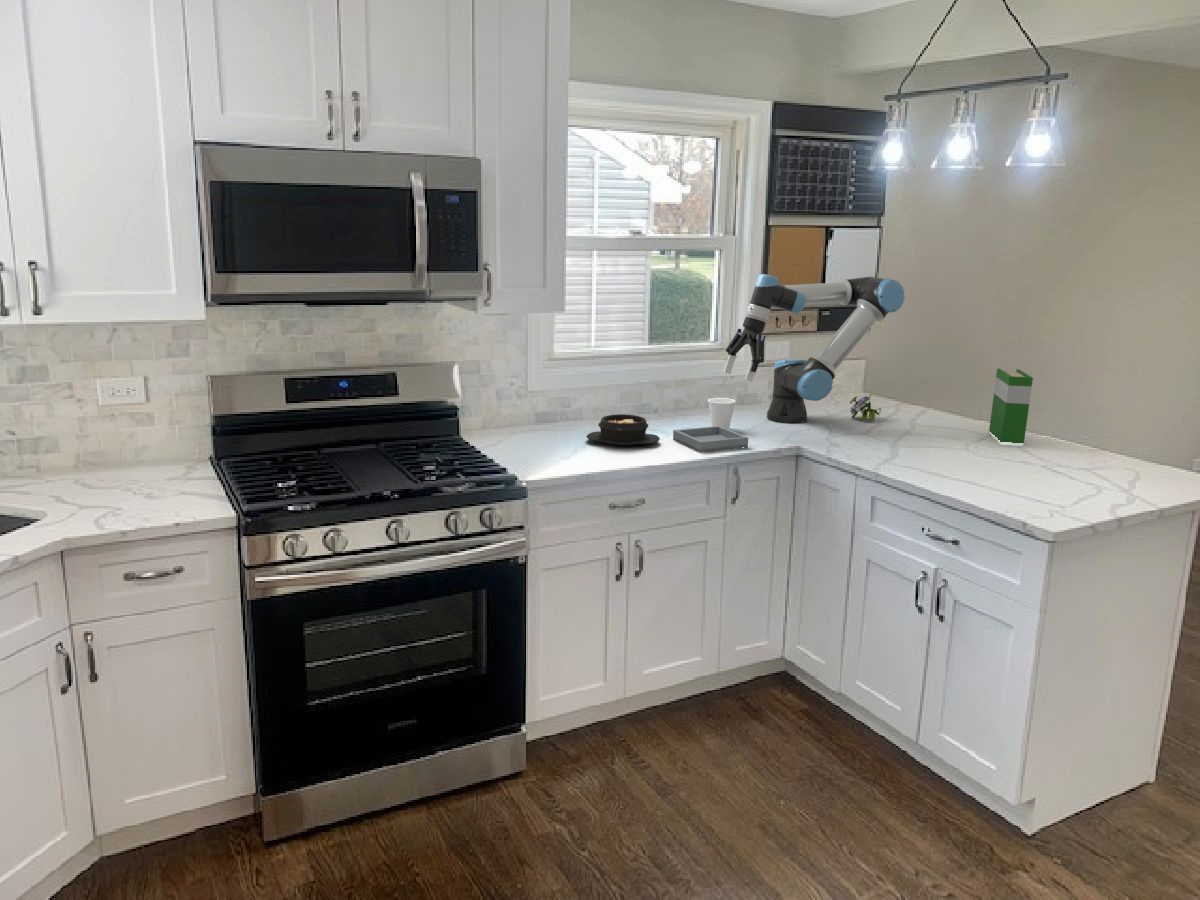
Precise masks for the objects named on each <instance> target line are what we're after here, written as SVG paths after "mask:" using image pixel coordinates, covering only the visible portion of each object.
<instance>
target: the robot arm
mask: <svg viewBox="0 0 1200 900" xmlns="http://www.w3.org/2000/svg"><path fill="white" fill-rule="evenodd" d="M752 291H753V292H752V296H751V298H750V302H749V305H748V308H747V311H746V315H747V316H745V317H744V321H743V322H742V326H743V328H744V329H741V328H738V329H737V331H736V333H735V334H734V337H732V339H731V341H730V342H729V344H728V346H727V347H726V348H725V352H727V359H726V362H725V366H724V368H723V373H725V374H729V375H731V373H732V370H733V367H734V365H735V361H736V358H737V354H738V352H740V351H741V349H742V348H744V346H745V345H749V347H750V354H751V358H752V360H751V361H750V362H749V365H748V369H747V372H746V375H745V378H744V380H746V381H748V382H753V380H754V377H755V375H756V373H757V370H758V367H759V365H760V364H761V363H762V364H763V363H764V362H765V341H766V337H767V336H766V335H765V334H762V333H763V332H764V331H765V327H766V323H767V322H765V321H768V318H769V315H770V312H771V309H772V308H773V309H778V310H782V311H783V310H784V311H787V312H789V313H793V314H798V313H801V311H803V309H804V308H805V305H807V306H808V305H823V304H824V305H827V304H840V305H842V306H855V307H856V308H855V309H854V310H853V312H851V314H850V315H849V316H848V317H847V318H846V320H845V321H844V322H843V323H842V325H841V326H840V327H839V328H838V329H837V330H836V332H835V333H834V334H833V336H832V337H831V338H830V339H829V340H828V341H827V343H826V344H825V345H824V347H822V348H821V350H819V352H818V353H817V355H815V356H810V357H809V358H808V359H807V360H806V359H798V358H797V359H795V358H793V359H787V358H786V359H777V360H776V361H775V363H774V366H773V367H774V368H773V384H772V385H773V386H772V388H773V389H772V390H773V391H772V399H771V402H770V404H769V407H768V410H767V412H766V419H767V418H768V420H769V419H770V420H769V421H772V420H773V421H772V422H776V421H778V422H777V423H783V422H800V423H803V422H802V421H805V420H807V421H808V412H807V407H806V404H805V401H804V400H806V401H813V402H815V401H821V400H823V399H824V398H825V399H826V397H828V395H829V394H830V392H831V391H832V389H833V384H834V379H835V377H836V370H837V369H838V368H839V367H840V365H841V364H842V363H843V362H844V360H846V358H847V357H848V356H849V354H850V353H851V352H852V351H853V350H854V349H855V347H856V346H857V345H858V343H860V341H861V340H862V339H863V338H864V337H865V335H866V334H867V333H868V332H869V330H870V329H871V328H872V327H873V326H874V324H875V323H876V322H881V321H883V320H884V319H885V318H886V317H887V315H888V314H889V313H894V312H898V311H899V309H901V308H902V306H903V304H904V302H905V289H904V287H903V285H902V284H901V283H900V282H899V281H898V280H896V279H893V278H889V277H887V278H882V277H876V276H865V277H856V278H849V279H841V280H840V281H839V282H825V283H824V282H823V283H803V284H786V285H780V279H779V278H778V277H776V276H774V275H770V274H765V273H761V274H759V275H758V276H757V280H756V283H755V284H754V288H753V290H752ZM805 422H806V421H805Z"/></svg>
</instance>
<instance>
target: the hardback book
mask: <svg viewBox="0 0 1200 900" xmlns="http://www.w3.org/2000/svg"><path fill="white" fill-rule="evenodd" d="M1033 381H1034V377H1032V376H1031V375H1029V374H1028V373H1026V372H1025V371H1022V369H1018V368H1016V371H1015V370H1003V369H1001V368H999V367H997V368H996V373H995V381H994V382H995V383H994V389H993V397H992V406H991V412H990V422H989V428H988V429H989V430H988V432H989V431H990V432H991V433H992V434H993V435H995V437H997V438H998V440H1000V442H1012V443H1024V444H1025V438H1026V431H1027V425H1028V416H1029V411H1030V410H1029V408H1030V403H1031V395H1032V394H1031V393H1032V388H1033Z"/></svg>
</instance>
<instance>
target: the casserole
mask: <svg viewBox="0 0 1200 900" xmlns="http://www.w3.org/2000/svg"><path fill="white" fill-rule="evenodd" d="M597 424H598V427H599V428H600V431H599V430H598V431H591V432H590V433H588V434H586V438H587V439H588V440H589V441H595V442H602V443H604V444H607V445H611V446H614V445H615V446H614V447H634V446H637V445H649V444H650V445H651V444H654V443H657V442H659V441H660V440H661V438H660V437H659V436H658V435H657V434H651V433H647V429H648V427H649V424H648V423H647V420H646V418H645V417H643V416H639V415H635V414H622V413H621V414H620V413H618V414H608V415H606V416H603V417H601V419H600V422H598V423H597Z"/></svg>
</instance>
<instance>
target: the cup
mask: <svg viewBox="0 0 1200 900" xmlns="http://www.w3.org/2000/svg"><path fill="white" fill-rule="evenodd" d="M707 401H708V406H709V407H708V408H709V414H710V424H711V426H710V427H712V426H721V427H724V428H726V429H729V430H730V426H731V422H732V417H733V412H734V409H735V404H736V402H737V401H736V400H735V399H732V398H727V397H712V398H711V397H710V398H708V399H707Z"/></svg>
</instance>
